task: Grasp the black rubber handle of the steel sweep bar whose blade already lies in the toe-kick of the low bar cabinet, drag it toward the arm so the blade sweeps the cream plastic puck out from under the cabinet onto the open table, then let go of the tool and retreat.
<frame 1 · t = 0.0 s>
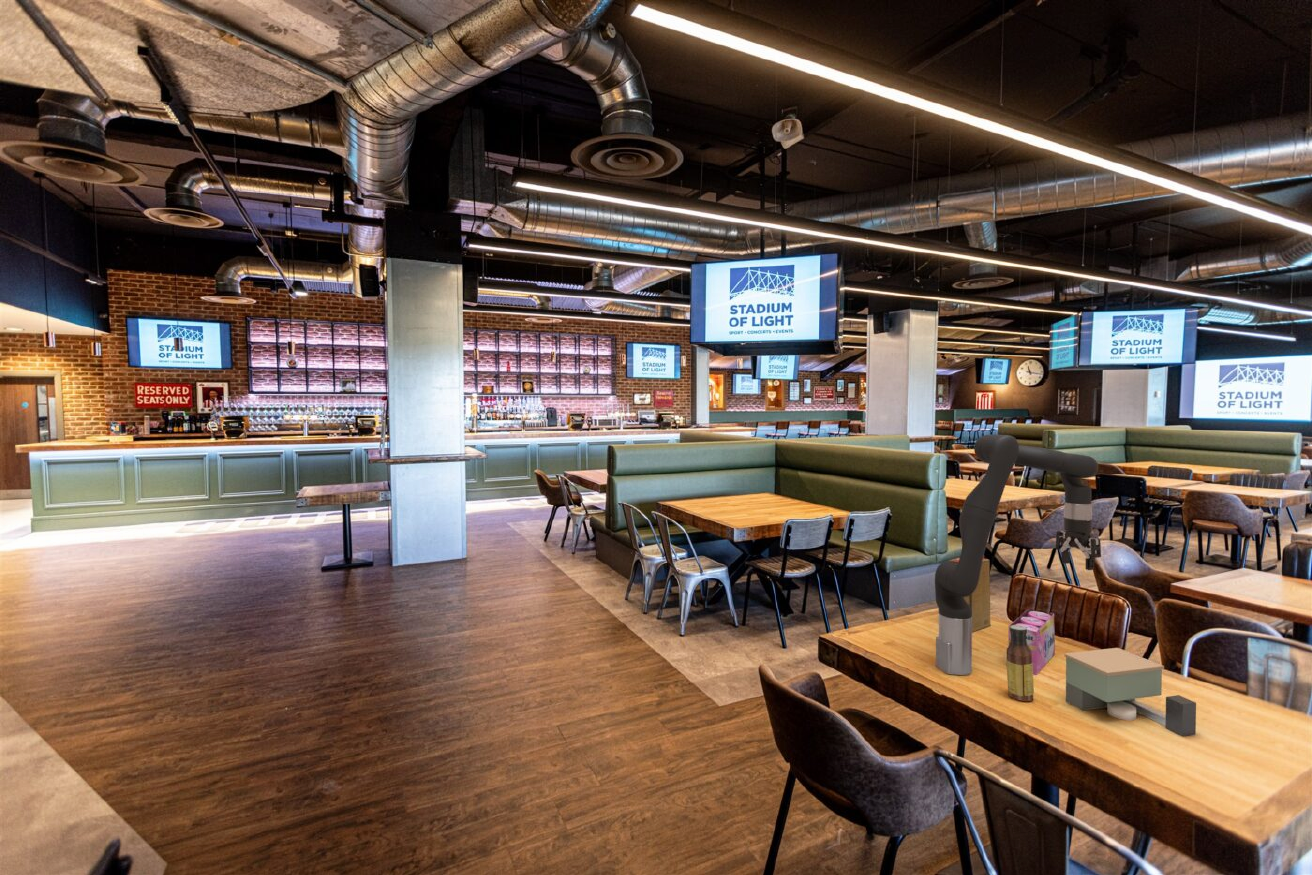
hand: (1077, 566, 192), 29 cm above the table, fingers open, 8 cm apart
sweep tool: (1180, 731, 147), on the table
puck: (1121, 715, 156), on the table
sauce bottle: (1019, 697, 166), on the table
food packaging: (969, 626, 222), on the table
cabinet: (1112, 708, 159), on the table
gum box: (1032, 661, 190), on the table
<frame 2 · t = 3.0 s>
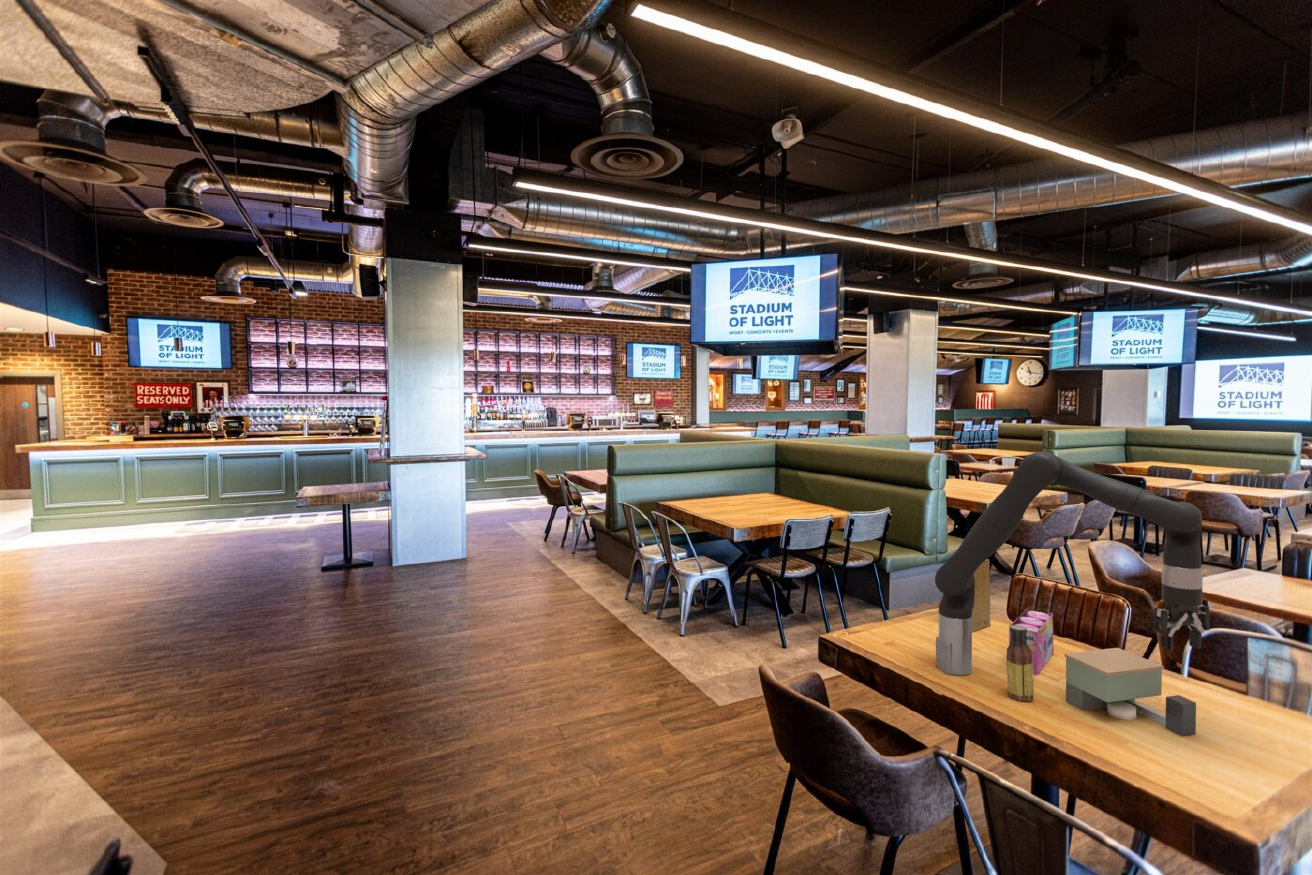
hand: (1181, 648, 146), 21 cm above the table, fingers open, 8 cm apart
nothing on the table moved.
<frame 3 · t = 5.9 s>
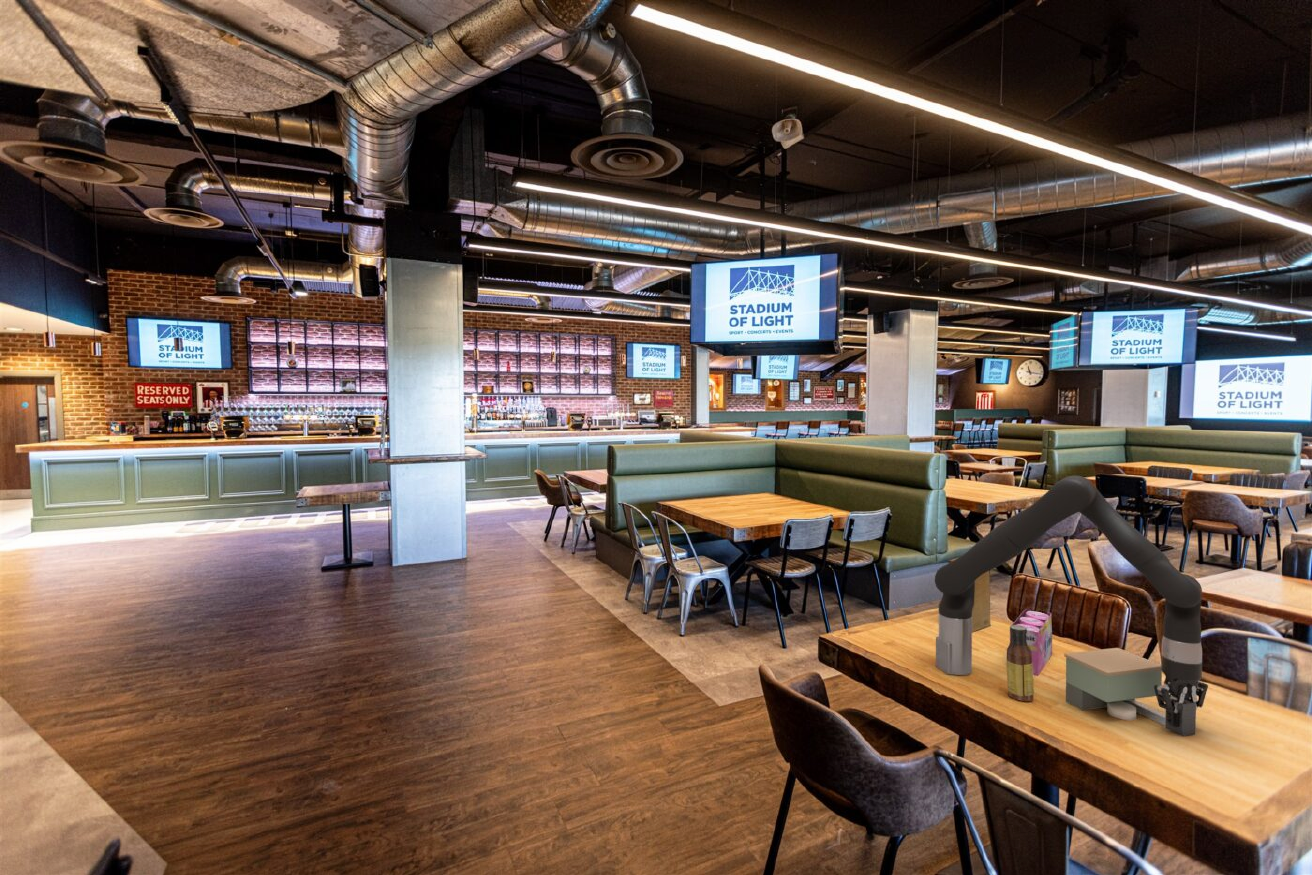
hand: (1180, 724, 147), 2 cm above the table, fingers closed on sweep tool, 4 cm apart
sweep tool: (1180, 731, 147), on the table, touching gripper
everything else where it was.
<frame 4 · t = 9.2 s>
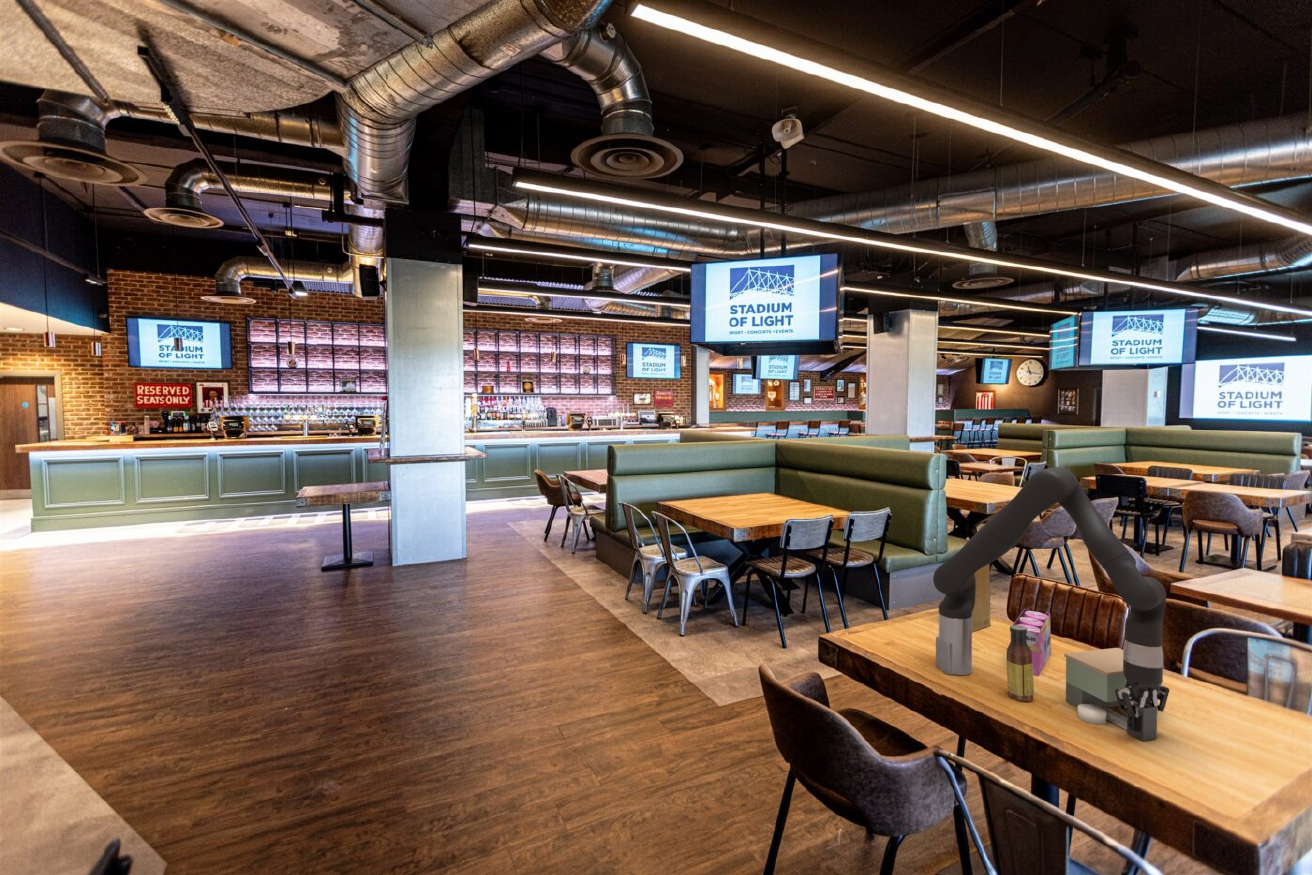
hand: (1141, 728, 145), 2 cm above the table, fingers closed on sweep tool, 4 cm apart
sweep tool: (1141, 735, 145), on the table, touching gripper, puck
puck: (1091, 718, 154), on the table, touching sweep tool
everything else where it was.
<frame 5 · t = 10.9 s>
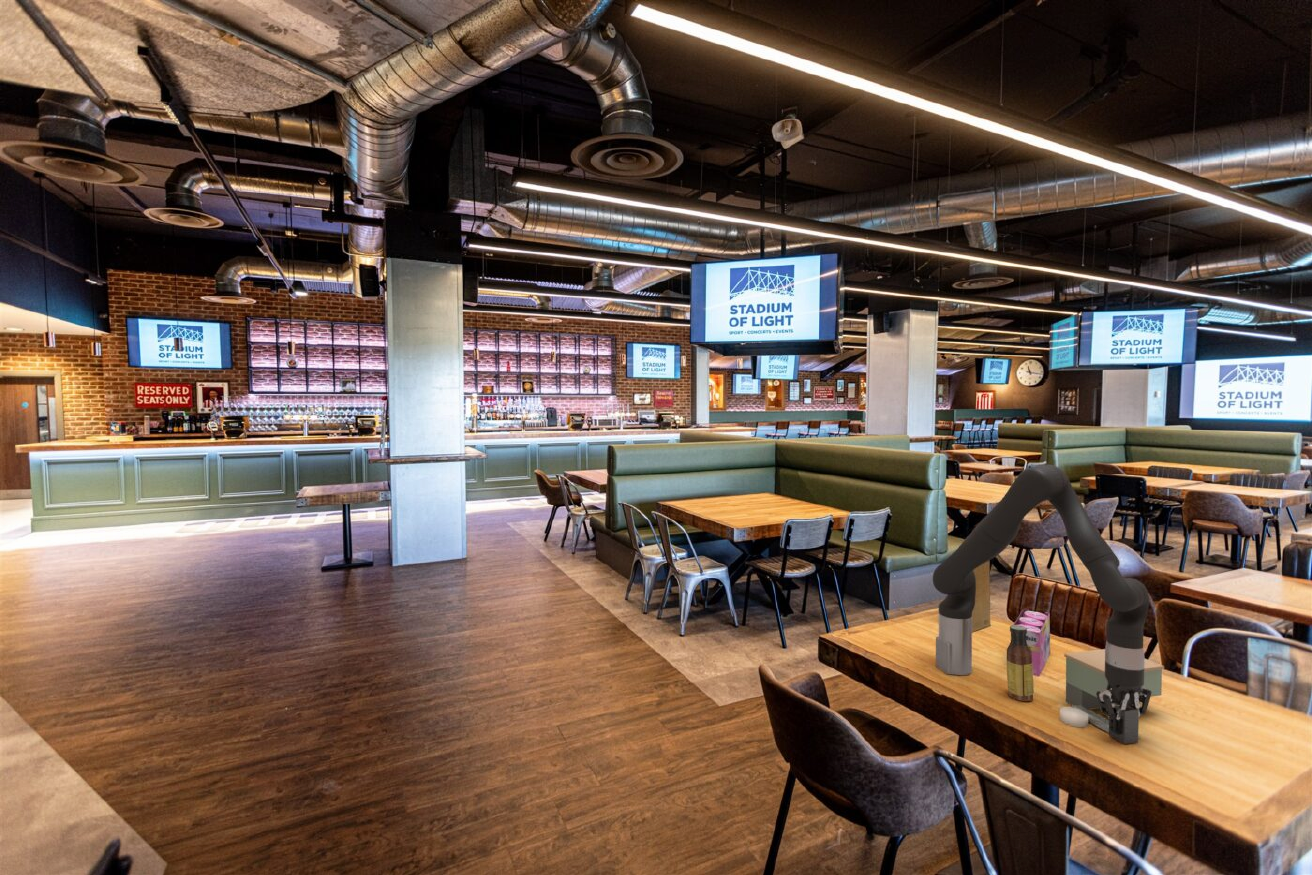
hand: (1123, 731, 144), 2 cm above the table, fingers closed on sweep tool, 4 cm apart
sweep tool: (1123, 738, 144), on the table, touching gripper
puck: (1073, 721, 153), on the table
everything else where it was.
when the fingers open (2 cm above the table, at t = 11.9 s): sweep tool stays where it is, on the table.
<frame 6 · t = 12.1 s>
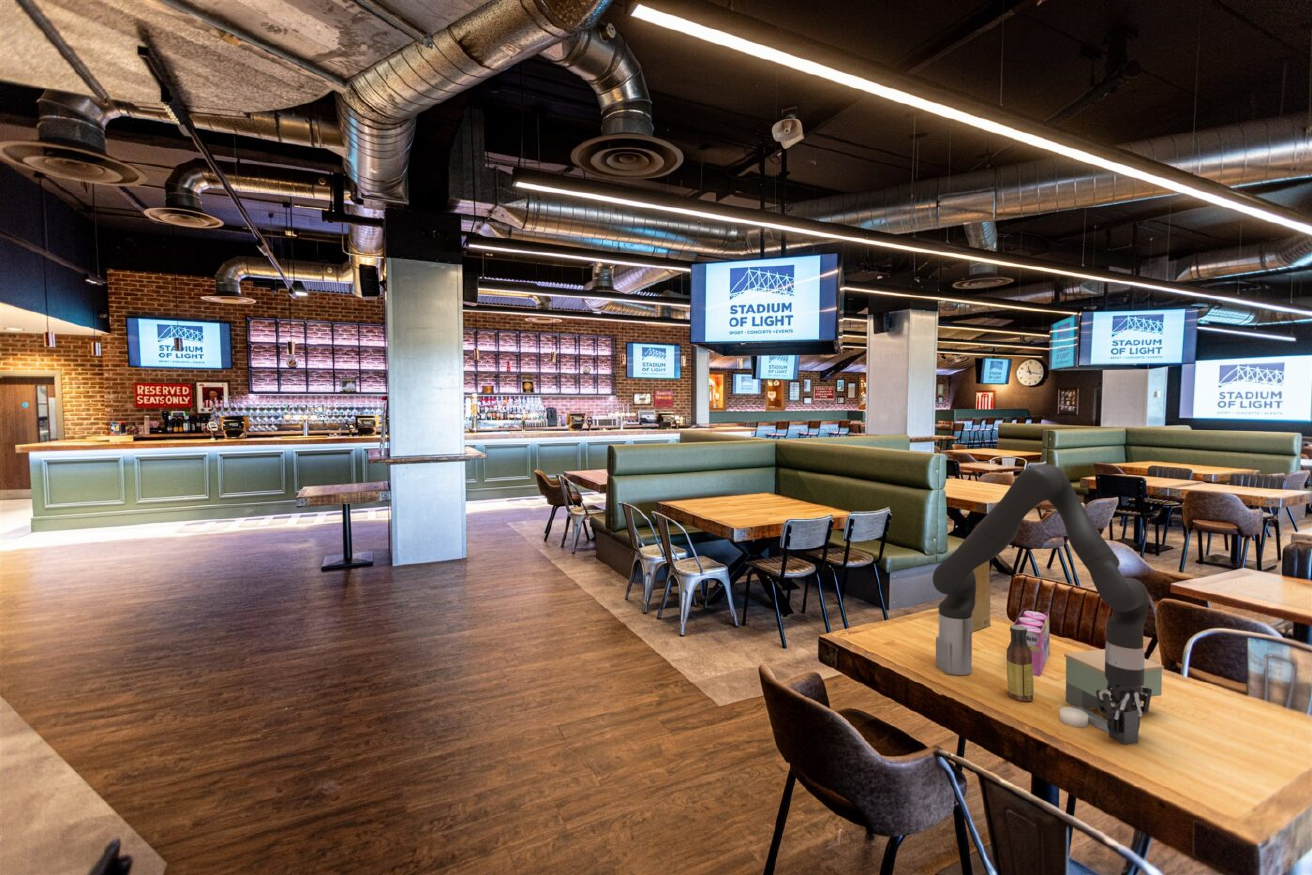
hand: (1123, 730, 144), 2 cm above the table, fingers open, 5 cm apart
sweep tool: (1123, 739, 144), on the table
everything else where it was.
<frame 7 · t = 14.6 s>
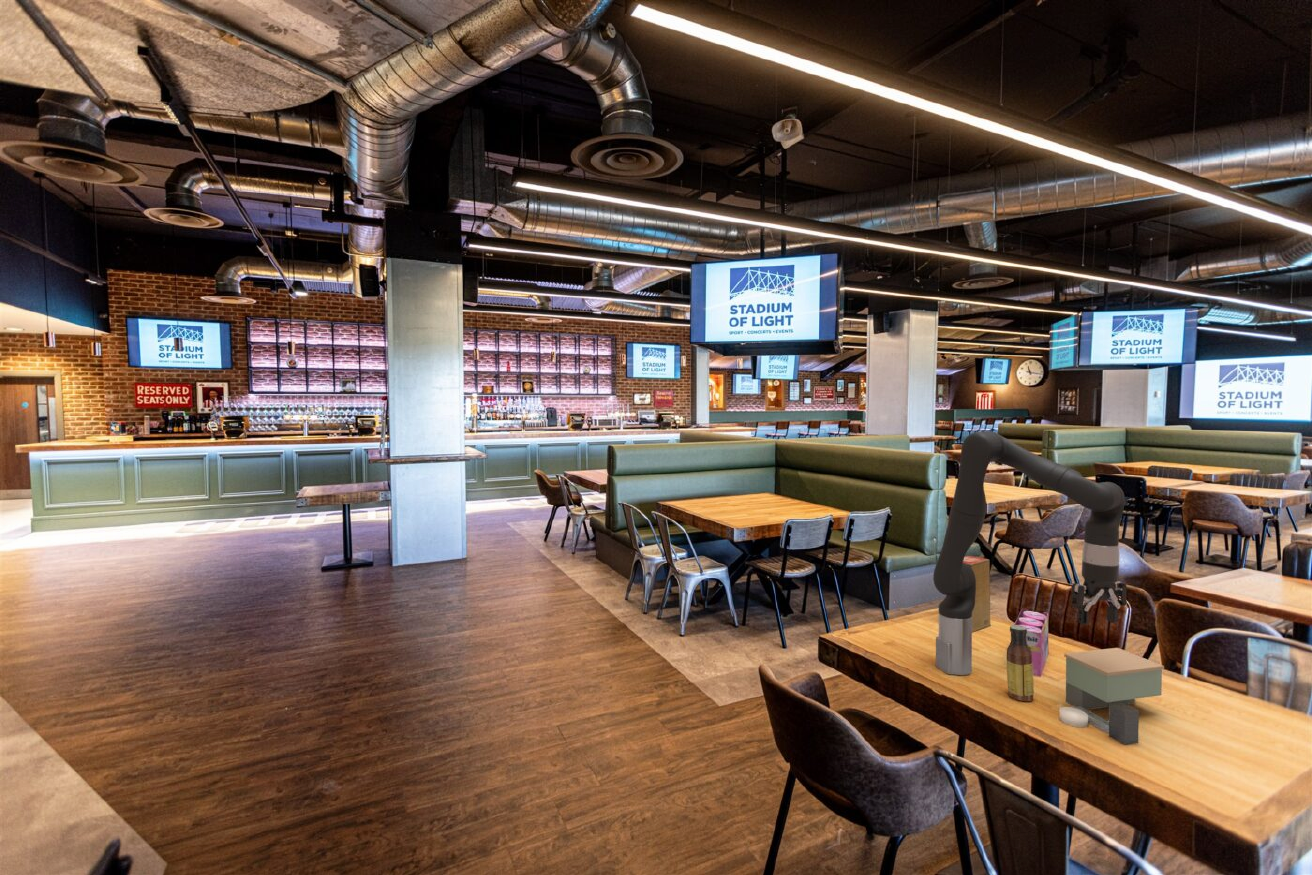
hand: (1097, 622, 152), 25 cm above the table, fingers open, 8 cm apart
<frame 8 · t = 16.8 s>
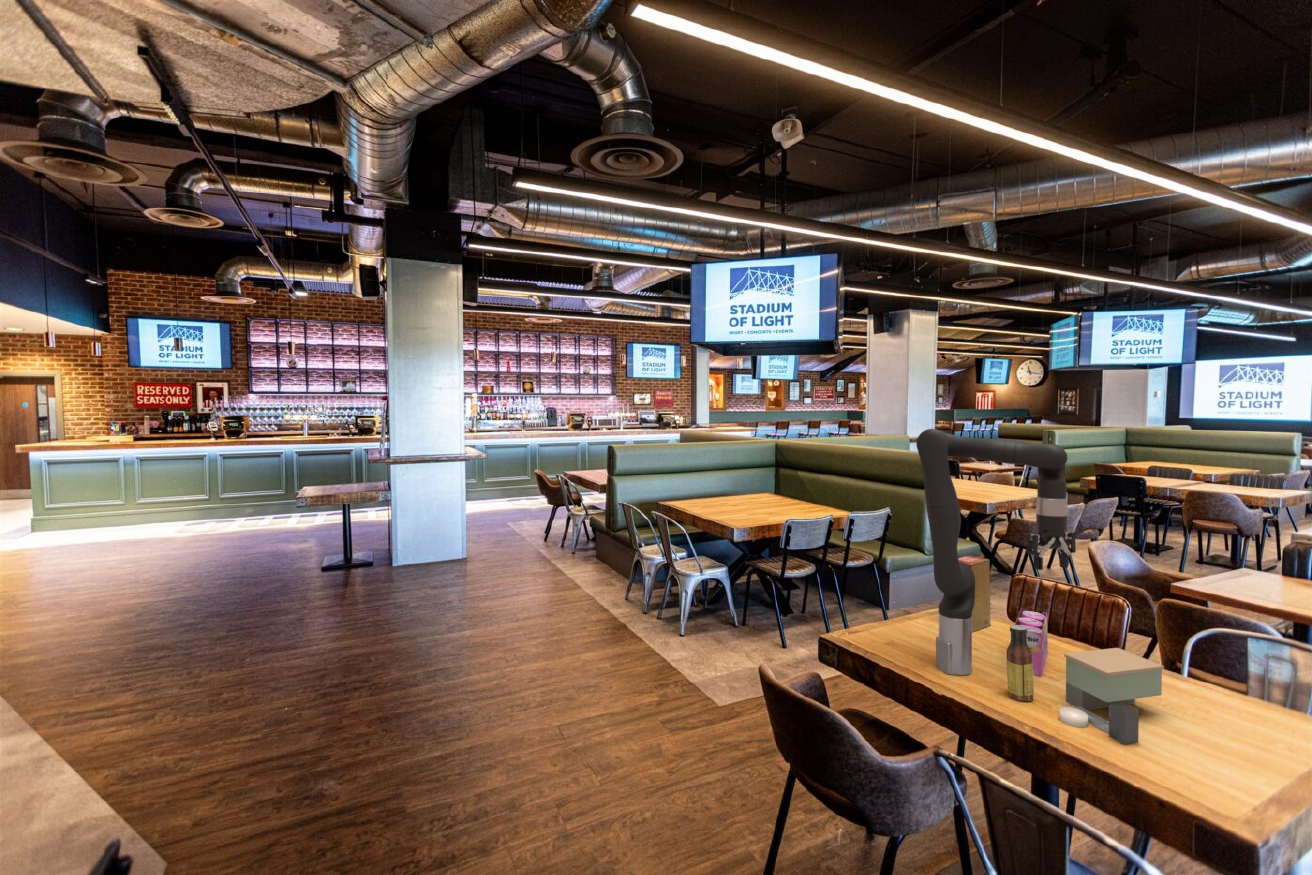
hand: (1051, 568, 173), 34 cm above the table, fingers open, 8 cm apart
at the end: puck inside the target area (3.0 cm from its centre), on the table; puck tilted 0°; the gripper is holding nothing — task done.
